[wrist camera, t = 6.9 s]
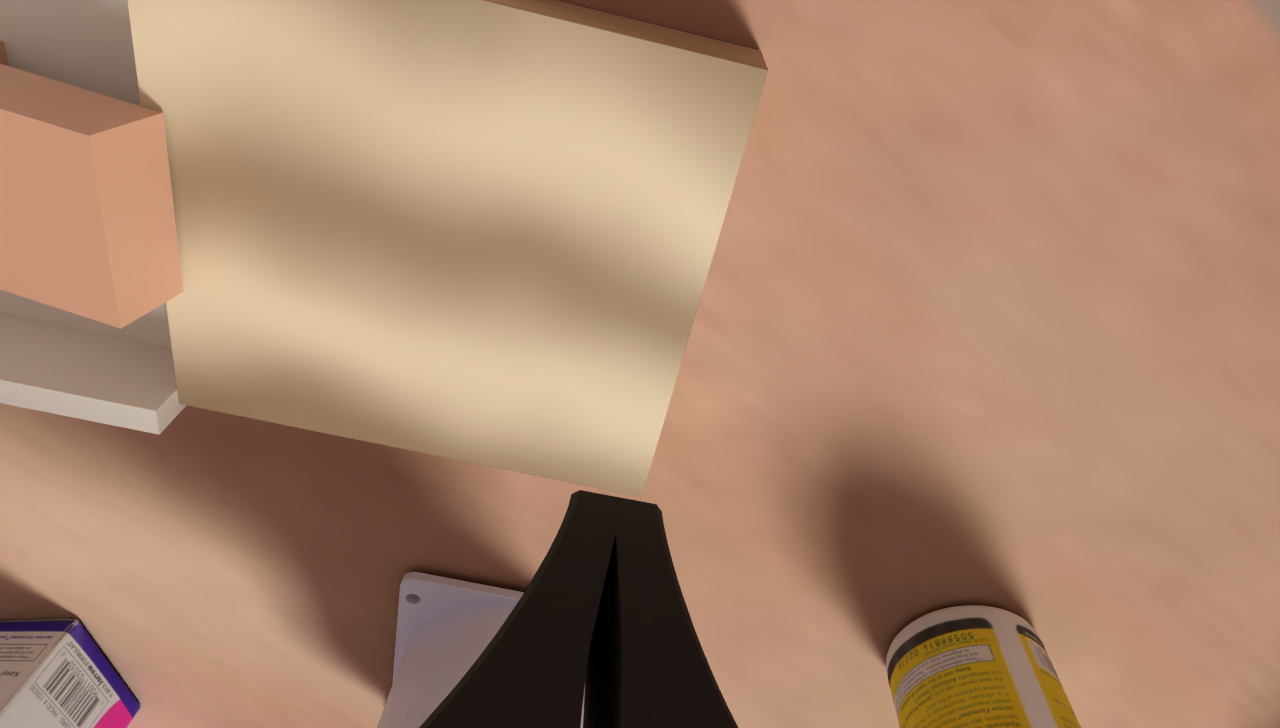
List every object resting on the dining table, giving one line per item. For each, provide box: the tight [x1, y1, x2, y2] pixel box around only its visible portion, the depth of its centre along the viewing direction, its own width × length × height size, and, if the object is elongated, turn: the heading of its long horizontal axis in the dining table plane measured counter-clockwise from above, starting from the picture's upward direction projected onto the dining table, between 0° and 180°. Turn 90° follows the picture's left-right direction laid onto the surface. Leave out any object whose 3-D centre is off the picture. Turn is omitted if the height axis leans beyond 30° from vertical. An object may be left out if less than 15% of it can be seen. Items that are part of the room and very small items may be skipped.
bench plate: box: [127, 0, 768, 497], centre depth 20 cm, size 12×13×2 cm
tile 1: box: [0, 64, 183, 329], centre depth 18 cm, size 4×4×2 cm
